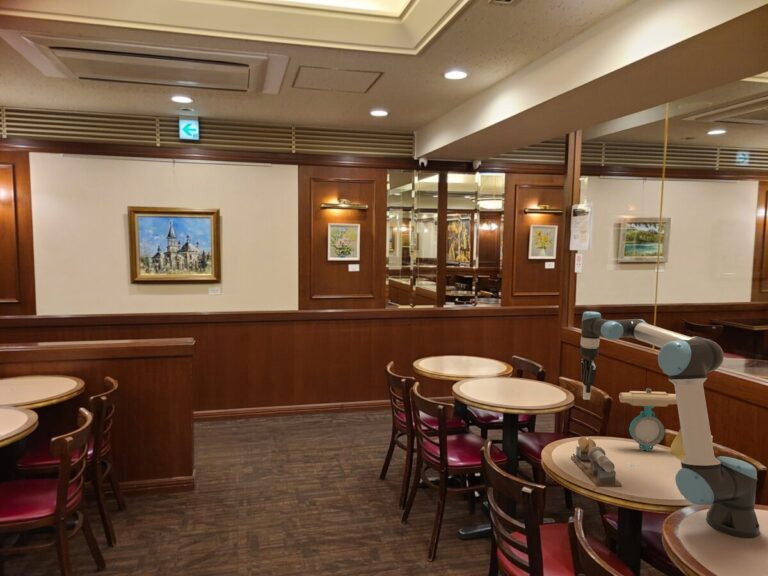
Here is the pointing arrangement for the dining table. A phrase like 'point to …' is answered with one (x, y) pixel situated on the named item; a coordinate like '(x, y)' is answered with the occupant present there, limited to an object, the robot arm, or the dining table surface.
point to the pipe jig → (598, 468)
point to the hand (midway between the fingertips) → (586, 399)
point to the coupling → (584, 448)
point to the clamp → (679, 446)
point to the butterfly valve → (647, 416)
